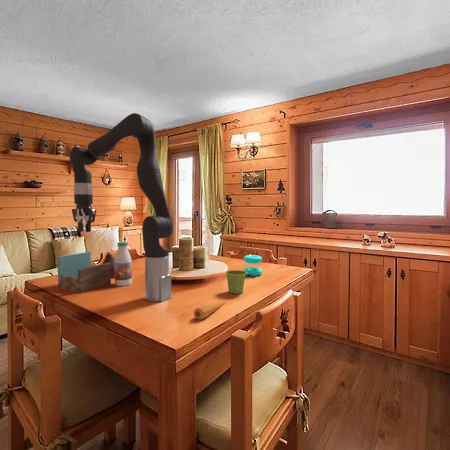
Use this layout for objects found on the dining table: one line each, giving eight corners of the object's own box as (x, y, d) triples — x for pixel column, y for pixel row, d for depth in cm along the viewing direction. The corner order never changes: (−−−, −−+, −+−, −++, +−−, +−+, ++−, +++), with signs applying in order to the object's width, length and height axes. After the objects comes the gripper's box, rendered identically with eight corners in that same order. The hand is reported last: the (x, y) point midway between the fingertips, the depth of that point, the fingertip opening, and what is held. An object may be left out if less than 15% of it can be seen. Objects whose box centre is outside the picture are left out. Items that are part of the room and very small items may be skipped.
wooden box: (110, 284, 143) (110, 263, 142) (80, 293, 129) (80, 269, 128) (89, 280, 150) (88, 260, 149) (58, 288, 135) (57, 266, 135)
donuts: (243, 254, 169) (261, 254, 169) (243, 272, 170) (261, 272, 169) (244, 257, 159) (263, 257, 159) (243, 276, 160) (262, 276, 159)
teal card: (91, 276, 149) (90, 252, 148) (60, 283, 135) (59, 257, 134) (87, 275, 150) (87, 251, 149) (56, 283, 136) (55, 256, 135)
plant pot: (221, 290, 134) (221, 270, 133) (240, 288, 138) (240, 269, 137) (230, 296, 125) (230, 275, 125) (250, 293, 129) (250, 273, 129)
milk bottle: (111, 284, 143) (110, 242, 141) (126, 281, 149) (126, 240, 147) (119, 287, 138) (119, 243, 136) (135, 284, 143) (134, 242, 142)
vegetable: (114, 285, 153) (113, 258, 148) (96, 281, 155) (94, 255, 150) (125, 275, 163) (124, 250, 158) (108, 272, 165) (106, 246, 159)
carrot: (200, 323, 99) (205, 311, 98) (189, 316, 101) (194, 304, 100) (227, 310, 116) (232, 300, 116) (218, 304, 118) (222, 294, 118)
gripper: (101, 193, 136) (102, 231, 137) (80, 194, 142) (81, 230, 144) (87, 193, 129) (88, 233, 130) (65, 193, 136) (66, 231, 137)
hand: (84, 231), depth 137 cm, fingers open, 4 cm apart
